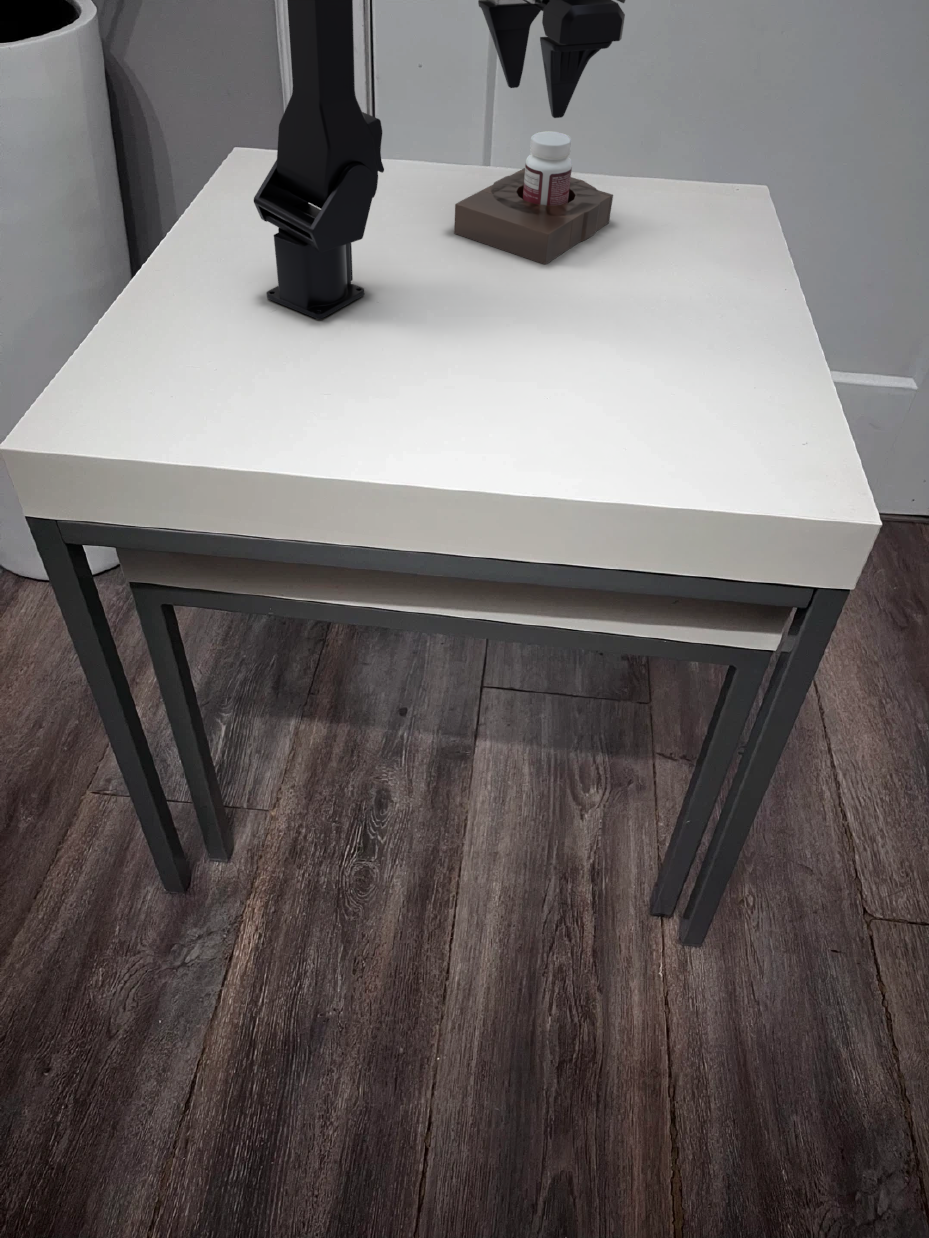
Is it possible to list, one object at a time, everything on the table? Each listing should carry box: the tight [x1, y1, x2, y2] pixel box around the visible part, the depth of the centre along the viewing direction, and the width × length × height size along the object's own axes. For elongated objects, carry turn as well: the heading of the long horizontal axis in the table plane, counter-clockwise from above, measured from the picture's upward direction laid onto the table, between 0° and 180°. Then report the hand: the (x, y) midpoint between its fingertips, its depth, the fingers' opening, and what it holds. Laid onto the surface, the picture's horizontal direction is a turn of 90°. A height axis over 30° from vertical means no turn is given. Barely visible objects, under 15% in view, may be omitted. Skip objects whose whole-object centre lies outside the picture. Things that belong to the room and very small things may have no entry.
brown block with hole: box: [453, 167, 614, 265], centre depth 100 cm, size 14×11×3 cm
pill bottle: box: [523, 130, 573, 206], centre depth 99 cm, size 5×5×8 cm
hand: (534, 102), depth 94 cm, fingers open, 9 cm apart
